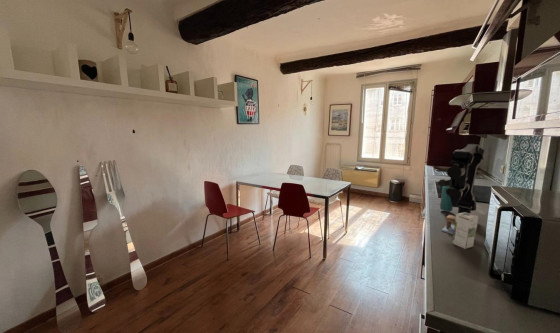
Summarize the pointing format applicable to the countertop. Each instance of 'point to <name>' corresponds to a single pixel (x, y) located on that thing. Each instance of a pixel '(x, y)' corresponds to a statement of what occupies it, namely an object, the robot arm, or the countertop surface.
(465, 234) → the syrup box
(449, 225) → the block with dowel legs
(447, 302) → the countertop surface
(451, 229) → the board
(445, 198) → the beverage bottle
